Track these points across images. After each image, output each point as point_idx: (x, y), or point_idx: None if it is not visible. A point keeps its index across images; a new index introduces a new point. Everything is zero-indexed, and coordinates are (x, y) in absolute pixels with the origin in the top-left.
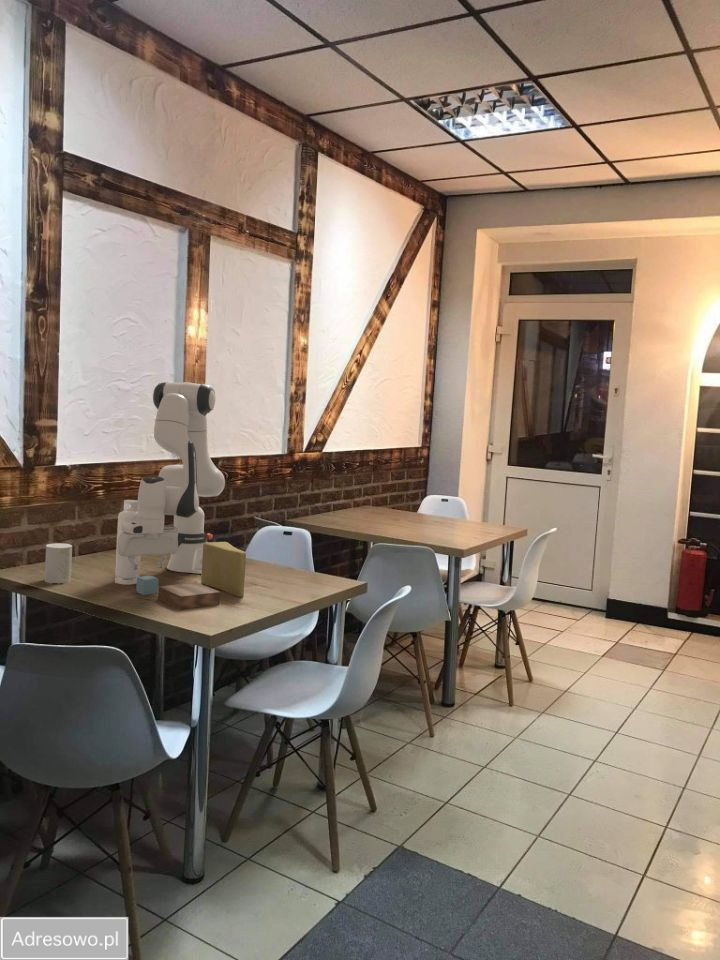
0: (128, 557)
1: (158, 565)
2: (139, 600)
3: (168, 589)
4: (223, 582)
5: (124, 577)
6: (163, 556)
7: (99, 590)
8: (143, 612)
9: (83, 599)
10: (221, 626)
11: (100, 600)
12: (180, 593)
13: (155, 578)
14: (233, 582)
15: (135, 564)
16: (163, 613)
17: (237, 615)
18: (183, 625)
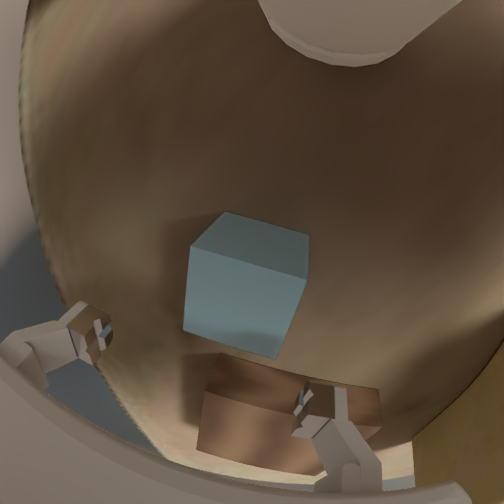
0: (10, 345)
1: (304, 401)
2: (154, 322)
3: (211, 421)
4: (462, 419)
5: (274, 20)
6: (315, 487)
7: (103, 97)
8: (120, 380)
9: (33, 194)
10: (204, 466)
11: (59, 235)
12: (214, 445)
13: (263, 349)
14: (427, 456)
15: (80, 358)
16: (156, 408)
17: (272, 472)
18: (155, 439)
